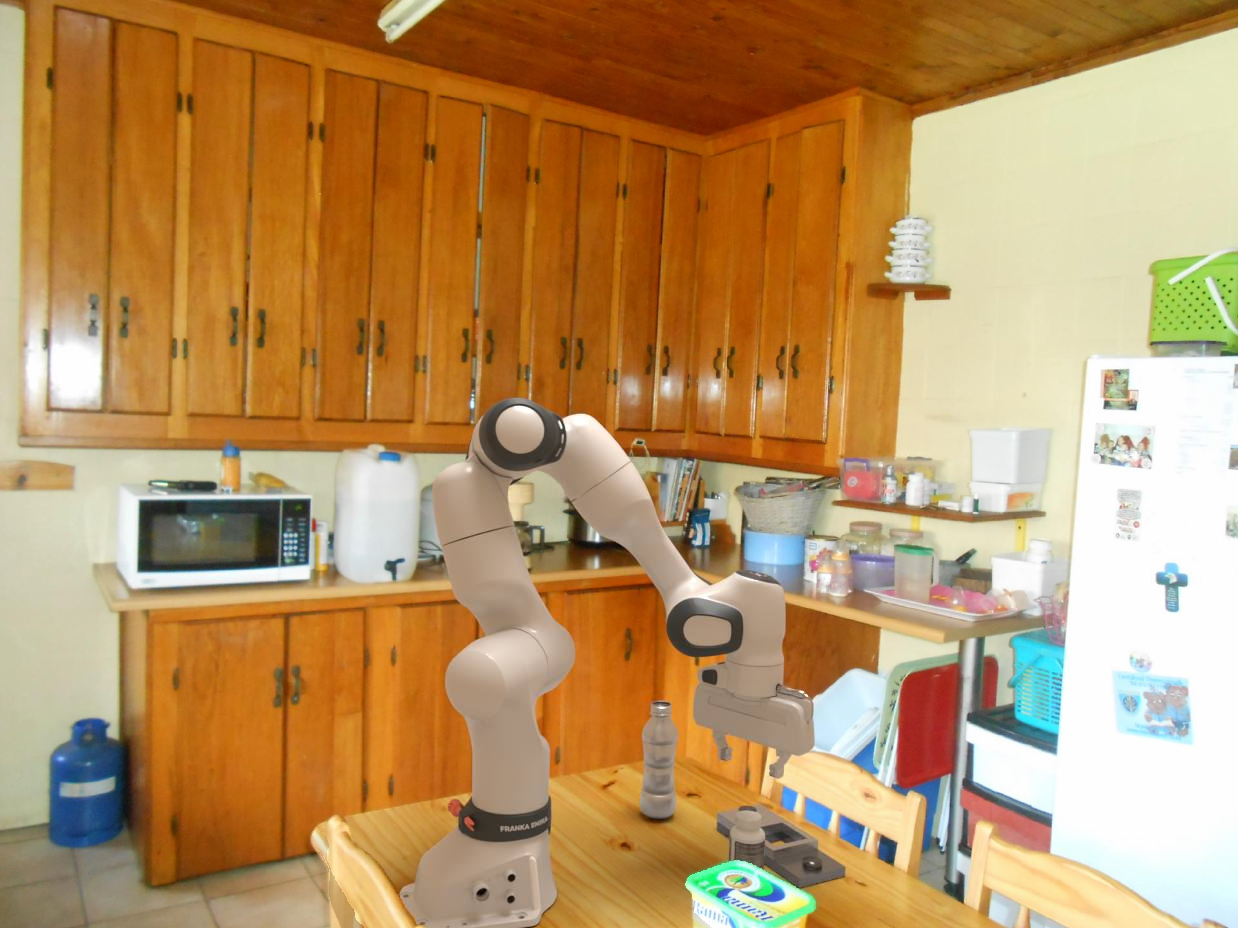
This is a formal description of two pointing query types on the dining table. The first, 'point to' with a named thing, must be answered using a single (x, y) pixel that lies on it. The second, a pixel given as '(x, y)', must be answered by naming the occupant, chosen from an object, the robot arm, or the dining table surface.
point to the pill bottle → (747, 839)
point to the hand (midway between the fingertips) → (750, 767)
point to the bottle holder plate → (787, 848)
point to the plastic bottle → (659, 762)
